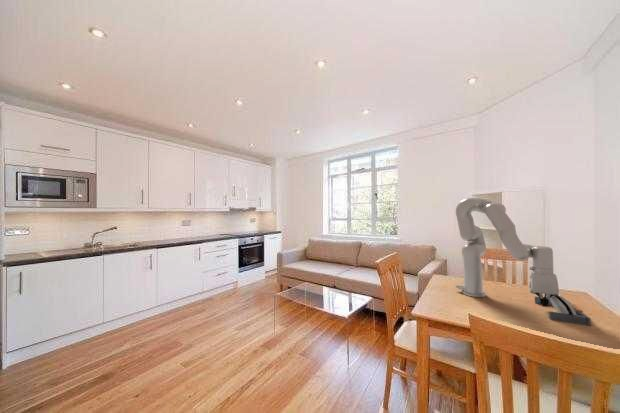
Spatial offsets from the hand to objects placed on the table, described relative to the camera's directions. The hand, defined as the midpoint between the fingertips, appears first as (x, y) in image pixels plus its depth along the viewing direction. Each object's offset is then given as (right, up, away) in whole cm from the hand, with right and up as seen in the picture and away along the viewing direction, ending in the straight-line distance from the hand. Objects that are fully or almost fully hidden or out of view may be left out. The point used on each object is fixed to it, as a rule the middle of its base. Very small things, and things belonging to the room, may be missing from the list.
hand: (544, 305), depth 120 cm
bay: (+5, -2, -3) cm, 6 cm away
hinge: (+5, -3, -5) cm, 8 cm away
